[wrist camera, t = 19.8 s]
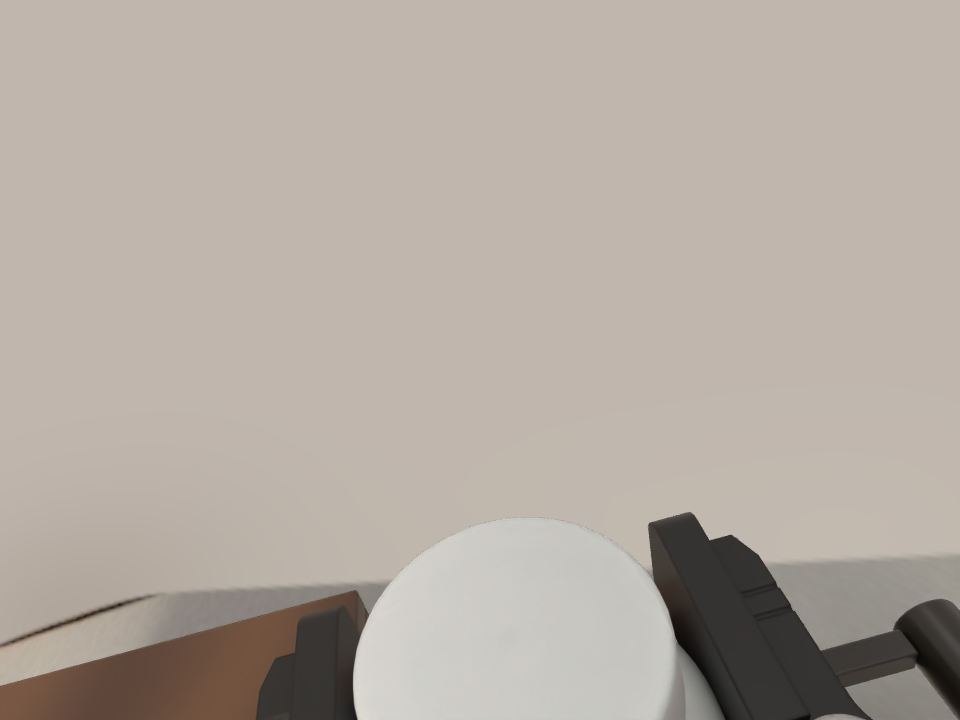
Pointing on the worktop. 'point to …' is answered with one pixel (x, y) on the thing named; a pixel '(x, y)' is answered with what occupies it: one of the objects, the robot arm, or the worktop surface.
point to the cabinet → (173, 674)
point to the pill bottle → (525, 633)
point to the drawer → (908, 651)
